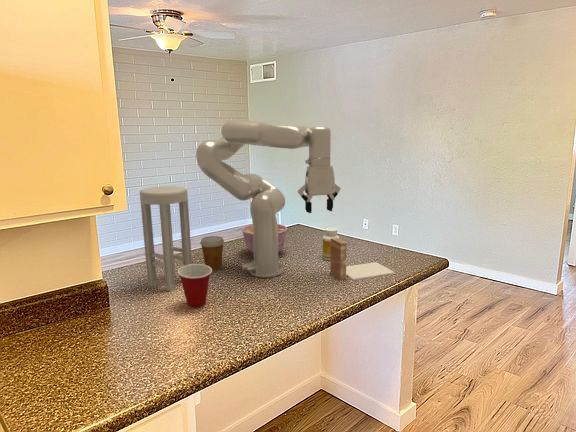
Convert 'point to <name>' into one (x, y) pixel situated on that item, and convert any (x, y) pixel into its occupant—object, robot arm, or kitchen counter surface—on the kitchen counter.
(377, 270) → the mat
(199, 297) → the plastic cup
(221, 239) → the disposable coffee cup
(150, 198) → the stool
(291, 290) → the kitchen counter surface
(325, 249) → the supplement bottle
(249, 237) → the bowl of food
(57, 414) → the kitchen counter surface
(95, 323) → the kitchen counter surface
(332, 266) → the slab
